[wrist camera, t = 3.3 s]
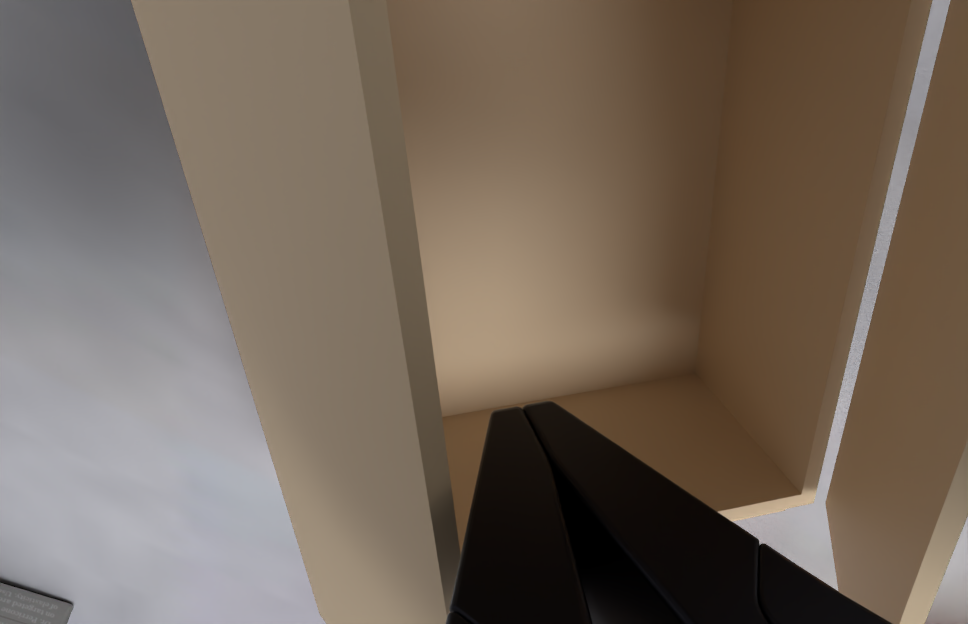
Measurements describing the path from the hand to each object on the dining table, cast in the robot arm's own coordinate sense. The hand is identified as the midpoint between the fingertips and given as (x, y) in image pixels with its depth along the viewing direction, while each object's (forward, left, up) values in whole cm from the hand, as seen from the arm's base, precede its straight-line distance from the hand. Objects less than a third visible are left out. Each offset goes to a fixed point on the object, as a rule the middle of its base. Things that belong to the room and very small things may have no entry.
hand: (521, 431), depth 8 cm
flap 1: (+2, 0, -1) cm, 3 cm away
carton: (-2, 0, -10) cm, 10 cm away
